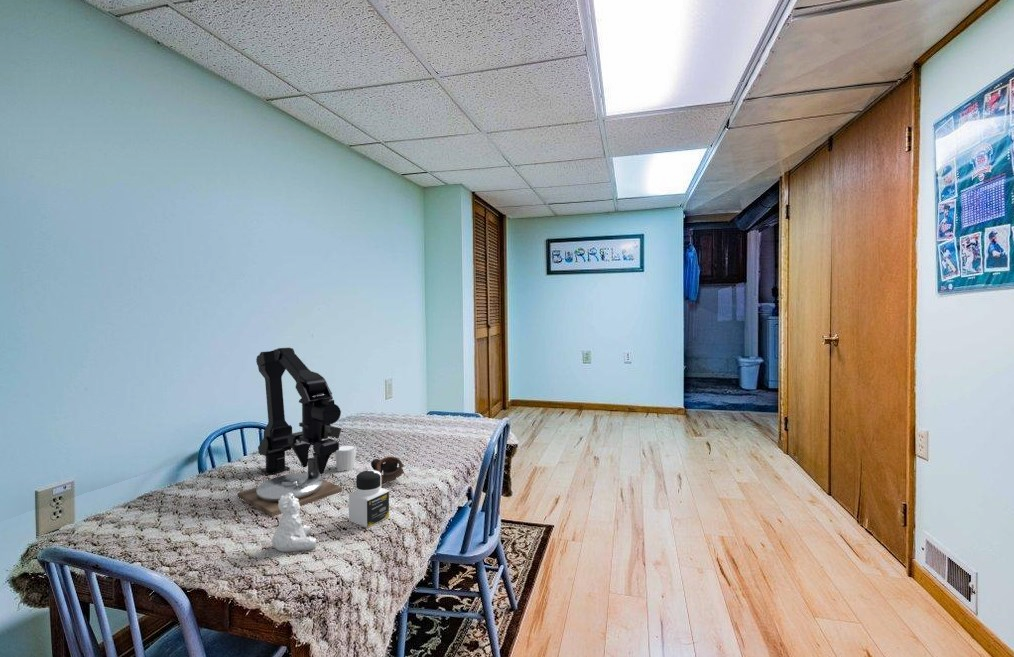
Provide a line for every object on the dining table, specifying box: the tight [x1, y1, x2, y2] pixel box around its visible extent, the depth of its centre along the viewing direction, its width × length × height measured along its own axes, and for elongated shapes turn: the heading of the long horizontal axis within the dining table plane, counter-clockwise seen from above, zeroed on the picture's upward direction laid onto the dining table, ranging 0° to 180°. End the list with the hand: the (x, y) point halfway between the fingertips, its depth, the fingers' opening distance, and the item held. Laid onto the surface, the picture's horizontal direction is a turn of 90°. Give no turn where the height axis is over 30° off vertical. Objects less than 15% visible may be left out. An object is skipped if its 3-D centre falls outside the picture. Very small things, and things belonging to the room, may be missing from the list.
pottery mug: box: [370, 455, 405, 486], centre depth 137 cm, size 12×10×8 cm
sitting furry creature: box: [271, 493, 317, 553], centre depth 98 cm, size 10×9×12 cm
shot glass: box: [334, 444, 357, 472], centre depth 147 cm, size 7×7×7 cm
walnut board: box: [236, 478, 343, 518], centre depth 126 cm, size 20×20×1 cm
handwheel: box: [256, 456, 323, 502], centre depth 126 cm, size 17×17×7 cm
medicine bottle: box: [348, 469, 390, 529], centre depth 111 cm, size 7×7×12 cm
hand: (313, 470), depth 132 cm, fingers open, 9 cm apart
